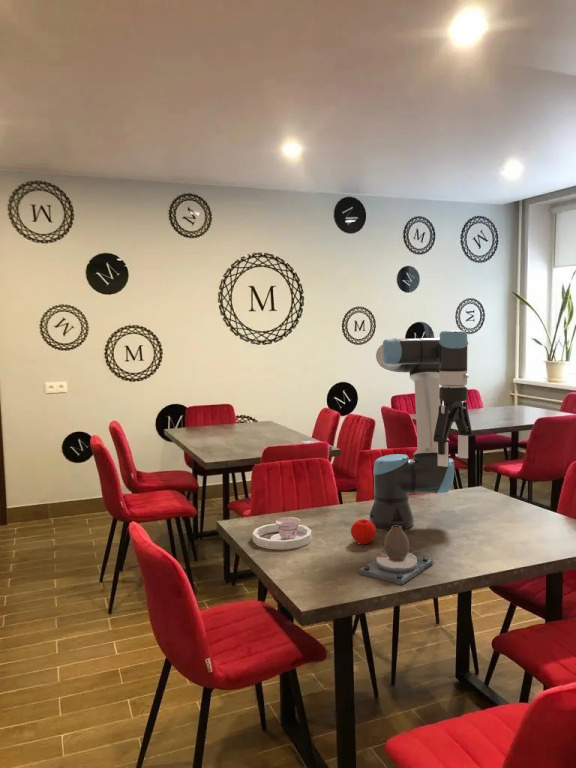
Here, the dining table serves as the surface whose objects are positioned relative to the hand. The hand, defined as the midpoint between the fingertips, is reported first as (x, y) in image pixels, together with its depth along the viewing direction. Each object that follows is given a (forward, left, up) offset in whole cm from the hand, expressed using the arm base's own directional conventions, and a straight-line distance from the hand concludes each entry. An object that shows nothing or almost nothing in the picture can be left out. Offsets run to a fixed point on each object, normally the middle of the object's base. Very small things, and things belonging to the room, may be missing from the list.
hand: (453, 461), depth 172 cm
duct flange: (-10, -14, -29) cm, 34 cm away
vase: (-10, -14, -26) cm, 31 cm away
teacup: (-50, -12, -29) cm, 59 cm away
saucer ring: (-52, -13, -29) cm, 61 cm away
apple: (-29, -1, -29) cm, 41 cm away
